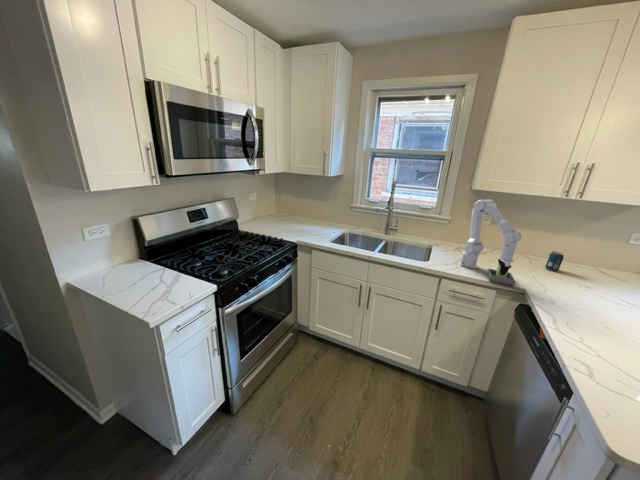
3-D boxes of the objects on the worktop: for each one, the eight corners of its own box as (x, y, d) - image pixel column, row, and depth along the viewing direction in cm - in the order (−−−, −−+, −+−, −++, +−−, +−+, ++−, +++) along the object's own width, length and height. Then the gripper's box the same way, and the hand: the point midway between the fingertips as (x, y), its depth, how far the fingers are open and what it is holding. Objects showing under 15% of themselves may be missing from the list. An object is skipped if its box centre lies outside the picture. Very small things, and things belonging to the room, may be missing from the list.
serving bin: (489, 281, 155) (490, 276, 154) (486, 273, 165) (488, 268, 164) (513, 286, 150) (515, 281, 149) (509, 278, 161) (510, 272, 159)
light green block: (496, 276, 156) (499, 267, 154) (495, 273, 160) (498, 264, 158) (506, 278, 154) (509, 268, 152) (504, 275, 158) (507, 265, 156)
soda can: (549, 267, 180) (555, 250, 176) (560, 271, 174) (567, 254, 170) (542, 267, 178) (548, 251, 174) (553, 272, 172) (560, 255, 168)
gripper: (519, 257, 144) (512, 279, 148) (513, 249, 156) (507, 270, 161) (504, 255, 147) (497, 276, 151) (499, 247, 159) (493, 267, 164)
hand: (501, 273), depth 156 cm, fingers closed on light green block, 4 cm apart
